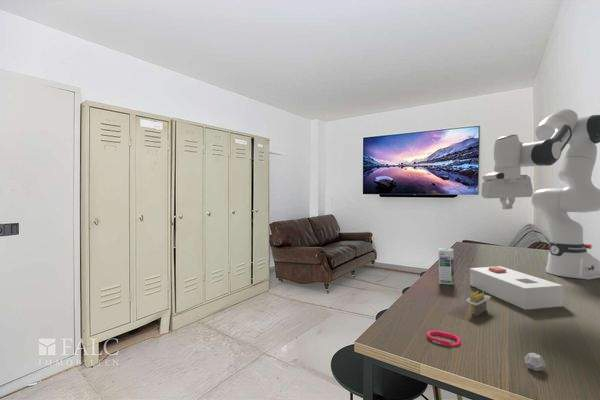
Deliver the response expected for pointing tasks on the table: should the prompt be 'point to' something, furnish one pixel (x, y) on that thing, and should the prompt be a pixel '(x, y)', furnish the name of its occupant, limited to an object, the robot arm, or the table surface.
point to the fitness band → (441, 341)
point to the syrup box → (446, 266)
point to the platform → (478, 302)
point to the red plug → (497, 270)
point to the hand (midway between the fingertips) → (507, 209)
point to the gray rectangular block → (526, 281)
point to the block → (518, 288)
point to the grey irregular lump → (534, 362)
